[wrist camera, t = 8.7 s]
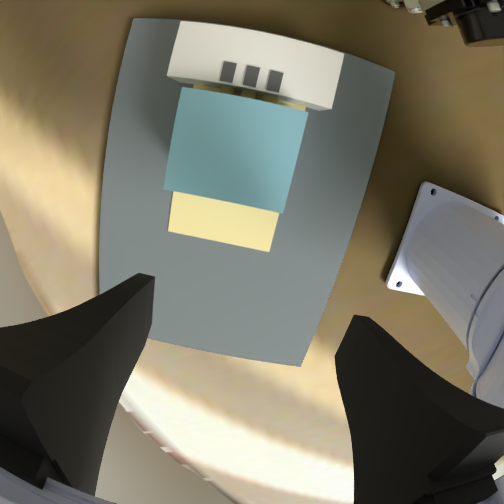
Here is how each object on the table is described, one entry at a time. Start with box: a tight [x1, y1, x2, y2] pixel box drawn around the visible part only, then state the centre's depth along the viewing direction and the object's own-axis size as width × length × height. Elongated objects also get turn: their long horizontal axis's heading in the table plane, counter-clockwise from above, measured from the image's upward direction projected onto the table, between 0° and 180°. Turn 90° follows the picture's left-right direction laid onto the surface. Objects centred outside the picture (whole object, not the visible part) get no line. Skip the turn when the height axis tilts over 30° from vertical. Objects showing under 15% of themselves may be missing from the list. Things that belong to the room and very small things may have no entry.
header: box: [167, 21, 344, 111], centre depth 15 cm, size 8×6×3 cm
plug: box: [163, 87, 308, 214], centre depth 15 cm, size 5×5×5 cm
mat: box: [99, 18, 396, 367], centre depth 19 cm, size 16×22×1 cm
